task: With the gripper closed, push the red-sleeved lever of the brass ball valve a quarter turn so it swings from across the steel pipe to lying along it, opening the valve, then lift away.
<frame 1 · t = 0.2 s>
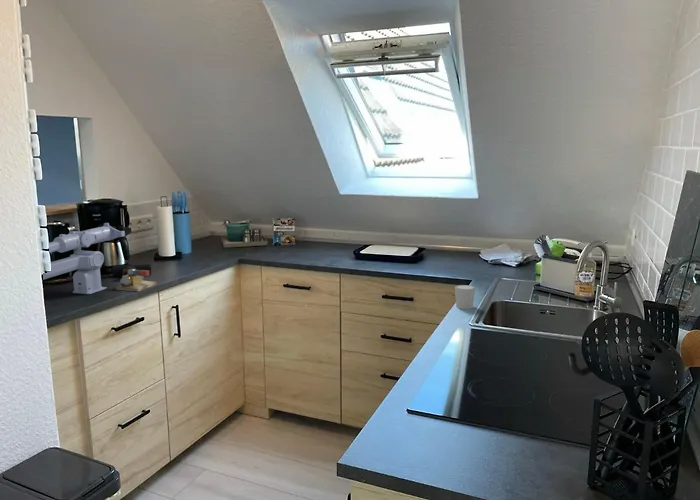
hand: (123, 229, 223), 21 cm above the worktop, tool horizontal, fingers open, 7 cm apart
valve body: (132, 286, 216), resting on board
light grey cylinder: (464, 307, 187), on the worktop
lever: (138, 272, 214), point 6 cm above the worktop, hinge at 0.0°
pipe connector: (131, 278, 231), on the worktop
board: (136, 286, 215), on the worktop
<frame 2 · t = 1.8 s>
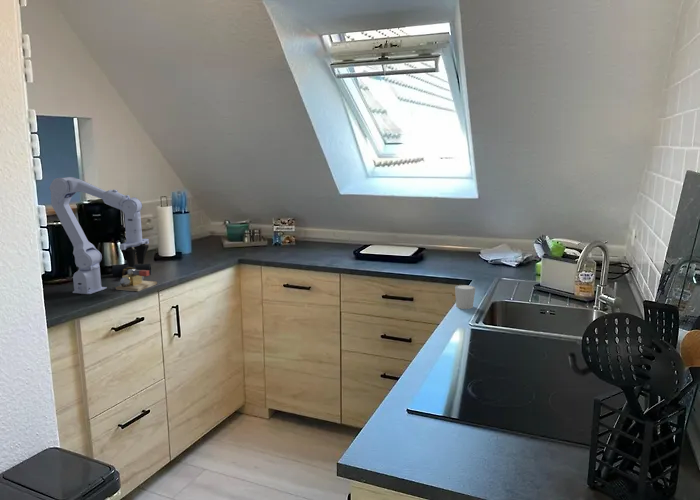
hand: (136, 265, 208), 10 cm above the worktop, tool pointing down, fingers open, 5 cm apart
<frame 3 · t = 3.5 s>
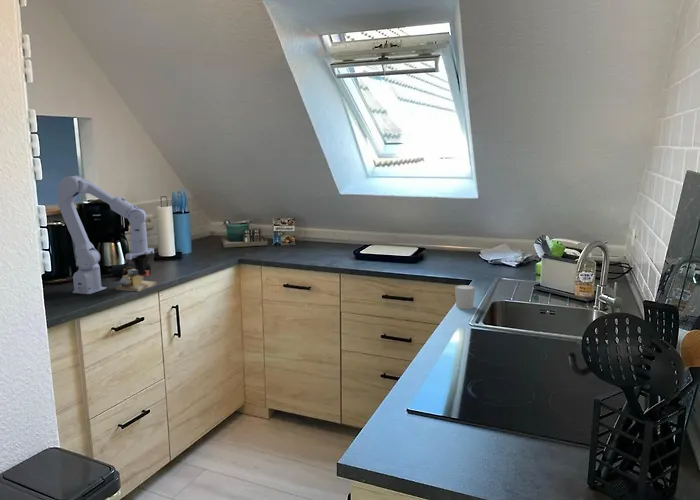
hand: (141, 274, 212), 6 cm above the worktop, tool pointing down, fingers closed, pressing on lever
lever: (138, 272, 214), point 6 cm above the worktop, hinge at 0.0°, touching gripper
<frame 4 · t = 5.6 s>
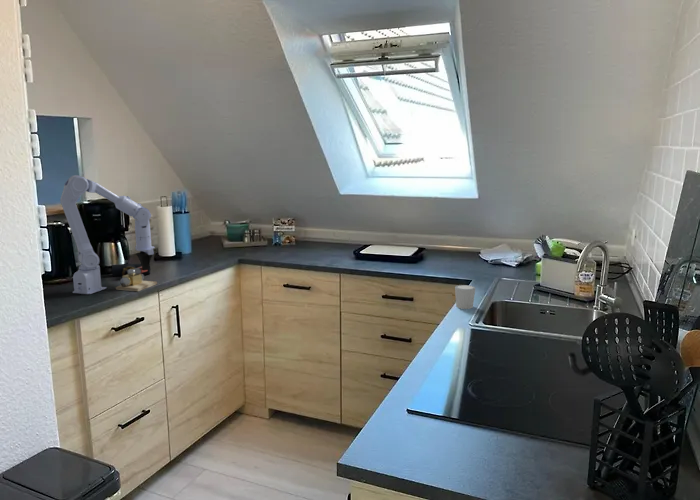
hand: (145, 269, 219), 6 cm above the worktop, tool pointing down, fingers closed, pressing on lever
lever: (137, 270, 217), point 6 cm above the worktop, hinge at 82.5°, touching gripper
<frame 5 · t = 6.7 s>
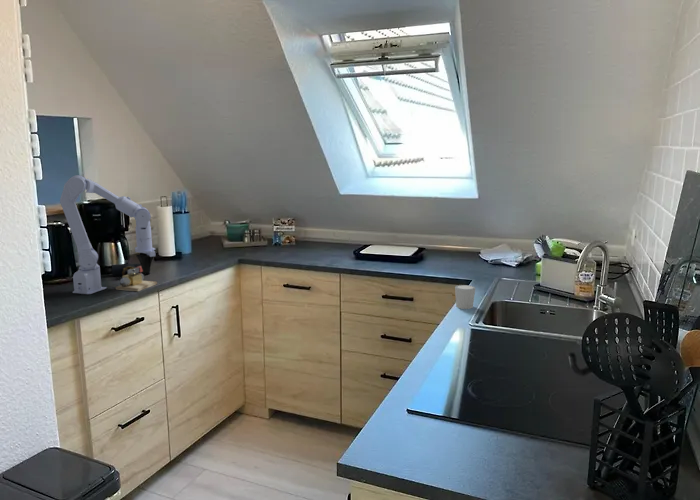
hand: (146, 271, 216), 6 cm above the worktop, tool pointing down, fingers closed
lever: (136, 270, 218), point 6 cm above the worktop, hinge at 94.5°
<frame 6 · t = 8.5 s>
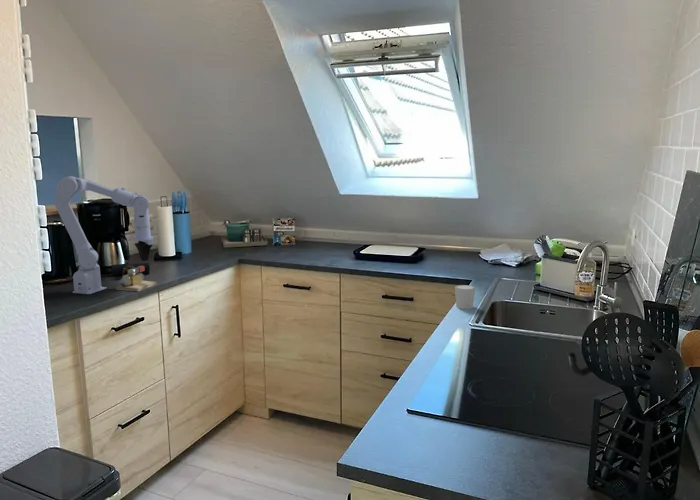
hand: (144, 260, 214), 10 cm above the worktop, tool pointing down, fingers closed
at the end: lever at +95° (first picture: +0°) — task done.
